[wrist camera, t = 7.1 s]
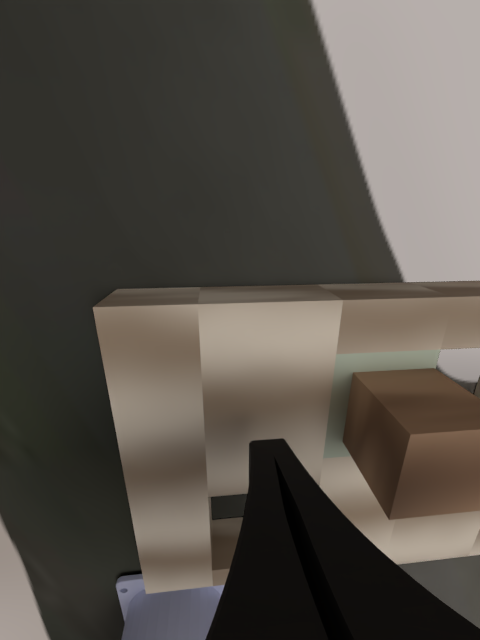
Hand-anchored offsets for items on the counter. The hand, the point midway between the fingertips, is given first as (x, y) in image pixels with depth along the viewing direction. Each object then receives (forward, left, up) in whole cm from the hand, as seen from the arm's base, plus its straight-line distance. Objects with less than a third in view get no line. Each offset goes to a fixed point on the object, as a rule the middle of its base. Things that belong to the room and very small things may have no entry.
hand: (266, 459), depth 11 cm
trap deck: (-3, -5, -6) cm, 8 cm away
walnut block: (0, -6, -3) cm, 7 cm away
